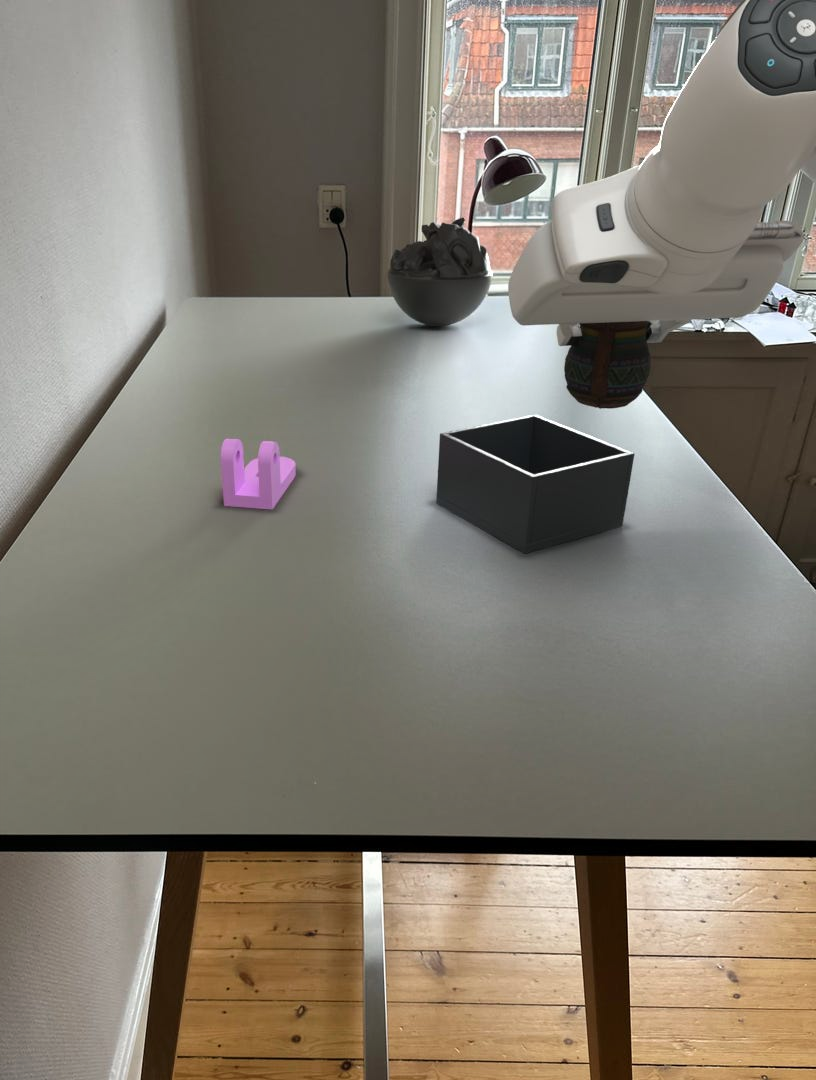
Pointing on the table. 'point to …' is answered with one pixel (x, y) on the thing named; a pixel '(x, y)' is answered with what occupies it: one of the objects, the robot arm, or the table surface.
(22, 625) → the table surface
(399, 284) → the grey filled bowl
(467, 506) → the waste bin
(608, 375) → the mate gourd
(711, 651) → the table surface
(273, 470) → the bracket
